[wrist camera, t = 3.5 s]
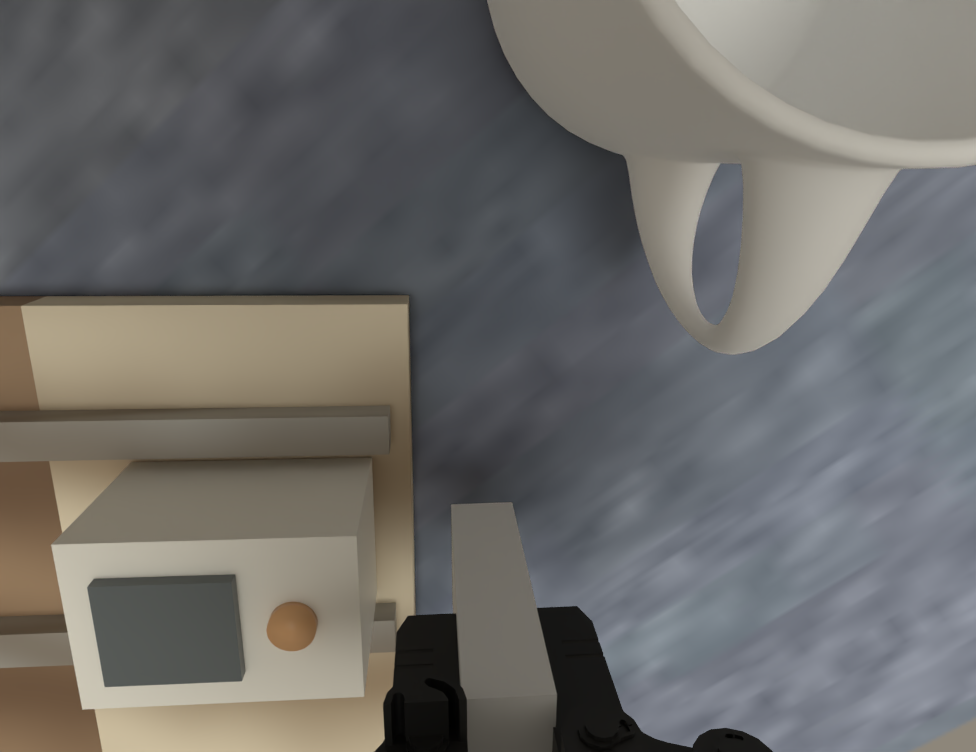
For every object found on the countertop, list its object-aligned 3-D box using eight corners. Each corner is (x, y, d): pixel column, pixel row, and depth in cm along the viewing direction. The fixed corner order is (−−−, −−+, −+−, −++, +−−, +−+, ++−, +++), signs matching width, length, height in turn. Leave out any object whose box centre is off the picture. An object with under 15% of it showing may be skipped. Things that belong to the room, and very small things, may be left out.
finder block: (131, 462, 18) (43, 552, 14) (371, 457, 18) (354, 543, 14) (151, 599, 19) (75, 719, 15) (377, 591, 20) (362, 706, 16)
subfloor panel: (-255, 297, 17) (-340, 314, 15) (409, 295, 19) (406, 311, 17) (-74, 905, 23) (-119, 972, 21) (421, 873, 24) (420, 934, 23)
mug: (466, 289, 19) (510, 452, 8) (487, -271, 15) (601, -1146, 5) (783, 298, 19) (1173, 458, 9) (871, -234, 16) (1660, -927, 6)
